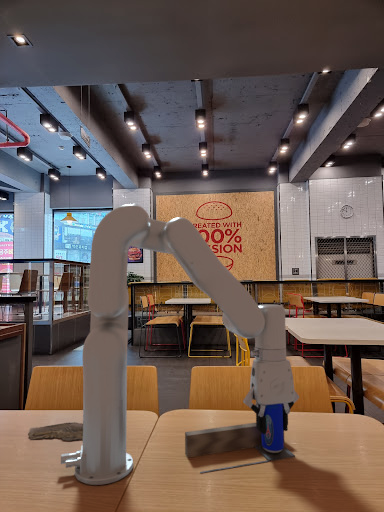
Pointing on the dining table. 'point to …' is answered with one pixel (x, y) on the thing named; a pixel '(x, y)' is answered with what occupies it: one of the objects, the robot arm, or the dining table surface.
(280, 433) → the beverage can
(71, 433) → the wooden fragment
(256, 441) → the guide fence
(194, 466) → the dining table surface
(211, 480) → the dining table surface
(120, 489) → the dining table surface
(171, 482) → the dining table surface
